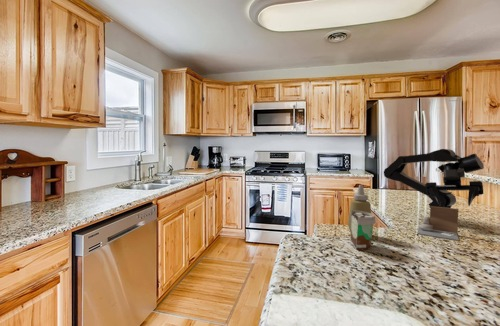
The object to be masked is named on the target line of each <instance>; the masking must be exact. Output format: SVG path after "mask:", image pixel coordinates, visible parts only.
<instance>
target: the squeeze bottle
mask: <svg viewBox="0 0 500 326" xmlns="http://www.w3.org/2000/svg"><path fill="white" fill-rule="evenodd" d="M368 198H369V196H368V195H367V194H365V190H364V185H363V184H359V185H358V190H357V192H356V194H353V200H350V206H349V211H348V218H347V227H348V230H349V232H350V234H351V210H356V211H363V212H367V213H371V214H372V208H371V202H370V201H368V200H369V199H368Z"/></svg>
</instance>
